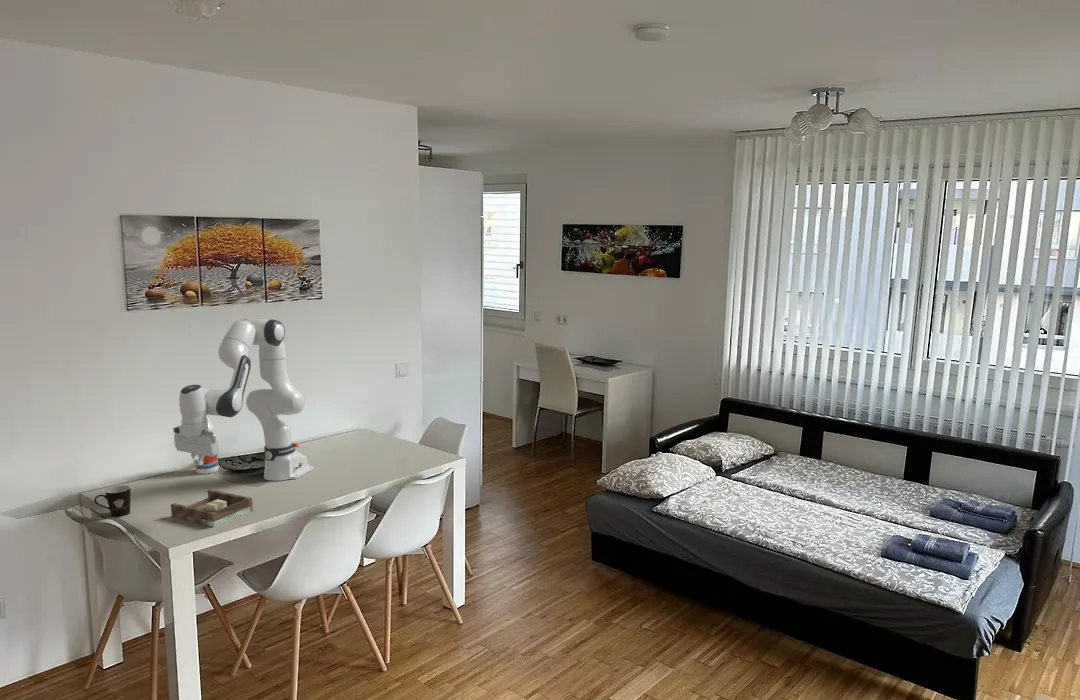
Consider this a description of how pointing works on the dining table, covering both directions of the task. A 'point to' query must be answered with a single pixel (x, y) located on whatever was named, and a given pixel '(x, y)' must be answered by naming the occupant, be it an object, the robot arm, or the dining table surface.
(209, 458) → the fruit juice
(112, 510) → the coffee mug
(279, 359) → the robot arm
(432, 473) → the dining table surface
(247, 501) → the box
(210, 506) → the birch block
